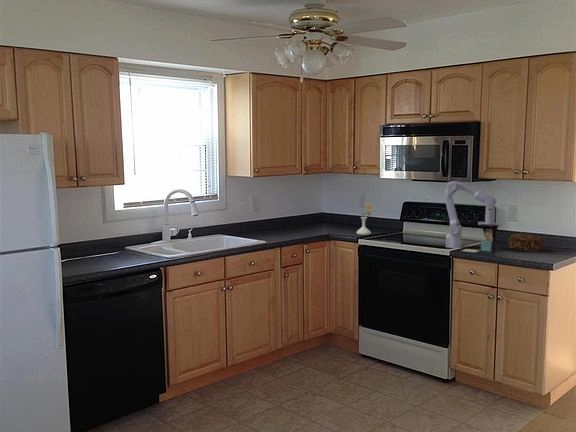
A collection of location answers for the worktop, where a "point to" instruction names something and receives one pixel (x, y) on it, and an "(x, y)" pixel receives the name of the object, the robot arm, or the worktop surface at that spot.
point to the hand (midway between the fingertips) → (489, 236)
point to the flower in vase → (363, 229)
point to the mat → (470, 250)
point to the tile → (485, 245)
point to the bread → (525, 242)
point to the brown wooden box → (489, 235)
